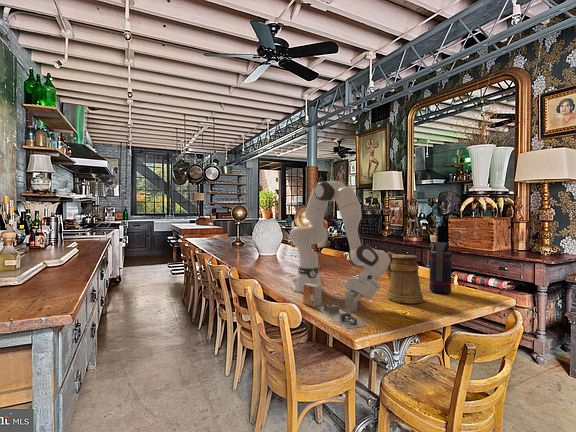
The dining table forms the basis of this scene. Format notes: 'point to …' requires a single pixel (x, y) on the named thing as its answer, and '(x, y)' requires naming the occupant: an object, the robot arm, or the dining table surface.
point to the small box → (312, 294)
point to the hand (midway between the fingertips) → (350, 299)
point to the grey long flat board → (340, 316)
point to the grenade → (440, 268)
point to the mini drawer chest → (350, 301)
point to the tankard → (403, 279)
